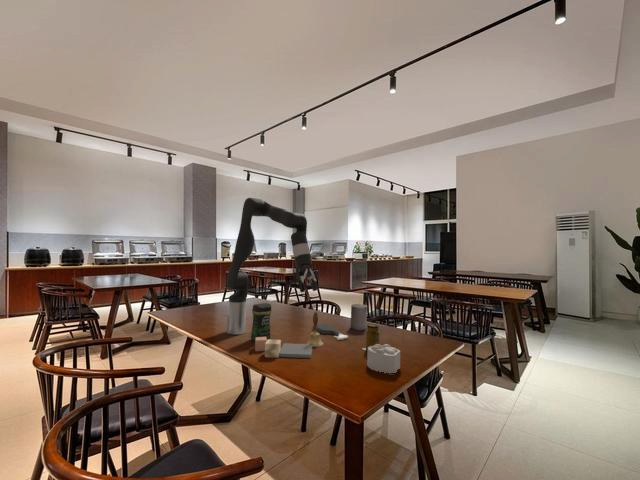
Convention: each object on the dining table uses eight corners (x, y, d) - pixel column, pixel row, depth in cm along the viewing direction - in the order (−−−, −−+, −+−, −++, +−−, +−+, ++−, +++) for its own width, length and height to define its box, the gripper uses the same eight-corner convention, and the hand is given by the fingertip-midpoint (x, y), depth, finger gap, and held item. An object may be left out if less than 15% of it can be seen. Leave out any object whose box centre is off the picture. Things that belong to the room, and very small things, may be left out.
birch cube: (264, 357, 134) (265, 343, 135) (267, 352, 140) (267, 339, 141) (278, 357, 134) (278, 344, 134) (280, 353, 140) (281, 339, 140)
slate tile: (278, 356, 135) (278, 353, 135) (283, 346, 149) (283, 343, 149) (310, 358, 135) (310, 354, 135) (312, 347, 149) (312, 344, 149)
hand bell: (303, 344, 154) (304, 312, 154) (314, 340, 160) (315, 309, 160) (315, 348, 148) (316, 315, 148) (326, 344, 154) (327, 312, 154)
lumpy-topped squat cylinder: (393, 375, 119) (394, 353, 119) (362, 367, 126) (363, 346, 126) (401, 367, 128) (402, 346, 128) (372, 360, 135) (373, 340, 135)
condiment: (374, 347, 152) (374, 322, 153) (384, 352, 145) (385, 327, 145) (361, 348, 149) (362, 324, 149) (371, 354, 142) (372, 328, 142)
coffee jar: (257, 343, 152) (258, 305, 153) (248, 339, 158) (249, 303, 158) (273, 339, 159) (274, 303, 159) (264, 336, 165) (265, 301, 165)
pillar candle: (348, 326, 190) (348, 302, 190) (362, 325, 193) (363, 301, 193) (354, 330, 181) (355, 305, 181) (369, 329, 184) (370, 304, 184)
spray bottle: (325, 327, 187) (352, 339, 166) (310, 330, 181) (336, 342, 160) (326, 323, 187) (352, 334, 166) (310, 325, 181) (336, 336, 160)
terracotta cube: (255, 351, 141) (255, 340, 142) (255, 347, 146) (255, 337, 146) (266, 350, 143) (266, 340, 143) (265, 347, 148) (266, 336, 148)
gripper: (305, 257, 145) (312, 292, 141) (285, 257, 133) (292, 294, 130) (318, 253, 141) (325, 288, 137) (298, 252, 129) (305, 290, 126)
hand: (309, 291), depth 133 cm, fingers open, 8 cm apart
